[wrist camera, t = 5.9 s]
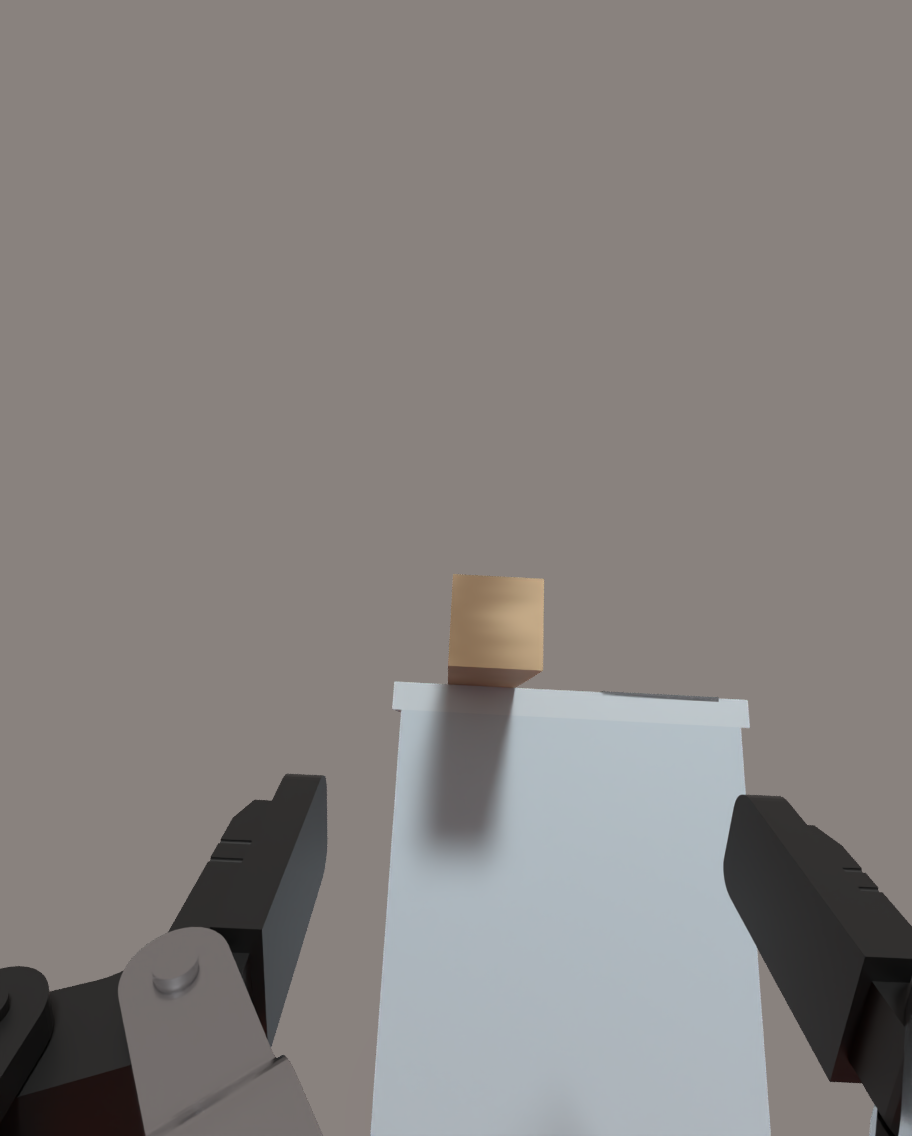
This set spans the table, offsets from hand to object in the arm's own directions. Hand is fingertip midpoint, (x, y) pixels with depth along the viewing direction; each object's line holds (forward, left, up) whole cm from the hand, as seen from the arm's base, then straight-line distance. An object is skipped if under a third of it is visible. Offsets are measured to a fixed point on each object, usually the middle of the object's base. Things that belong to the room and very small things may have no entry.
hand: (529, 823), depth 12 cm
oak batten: (0, +17, +4) cm, 18 cm away
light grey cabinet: (+4, +21, -28) cm, 35 cm away
